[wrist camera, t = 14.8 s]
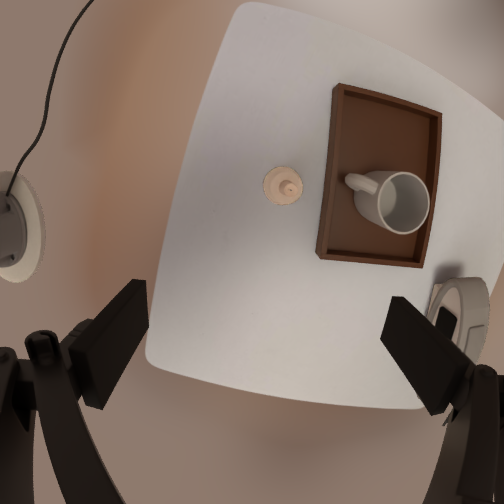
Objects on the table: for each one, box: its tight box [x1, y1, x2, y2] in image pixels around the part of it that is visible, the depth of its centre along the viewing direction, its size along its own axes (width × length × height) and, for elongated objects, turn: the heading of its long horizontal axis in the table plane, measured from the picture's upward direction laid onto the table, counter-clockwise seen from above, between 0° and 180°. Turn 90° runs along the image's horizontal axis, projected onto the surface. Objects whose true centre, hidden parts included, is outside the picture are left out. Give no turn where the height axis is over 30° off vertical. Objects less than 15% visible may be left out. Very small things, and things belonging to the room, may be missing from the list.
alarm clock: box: [416, 277, 490, 400], centre depth 39 cm, size 23×6×13 cm, turn 0°
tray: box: [315, 83, 442, 268], centre depth 37 cm, size 24×17×3 cm
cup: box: [345, 171, 430, 234], centre depth 34 cm, size 7×10×9 cm
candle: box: [263, 167, 303, 205], centre depth 34 cm, size 5×5×10 cm
